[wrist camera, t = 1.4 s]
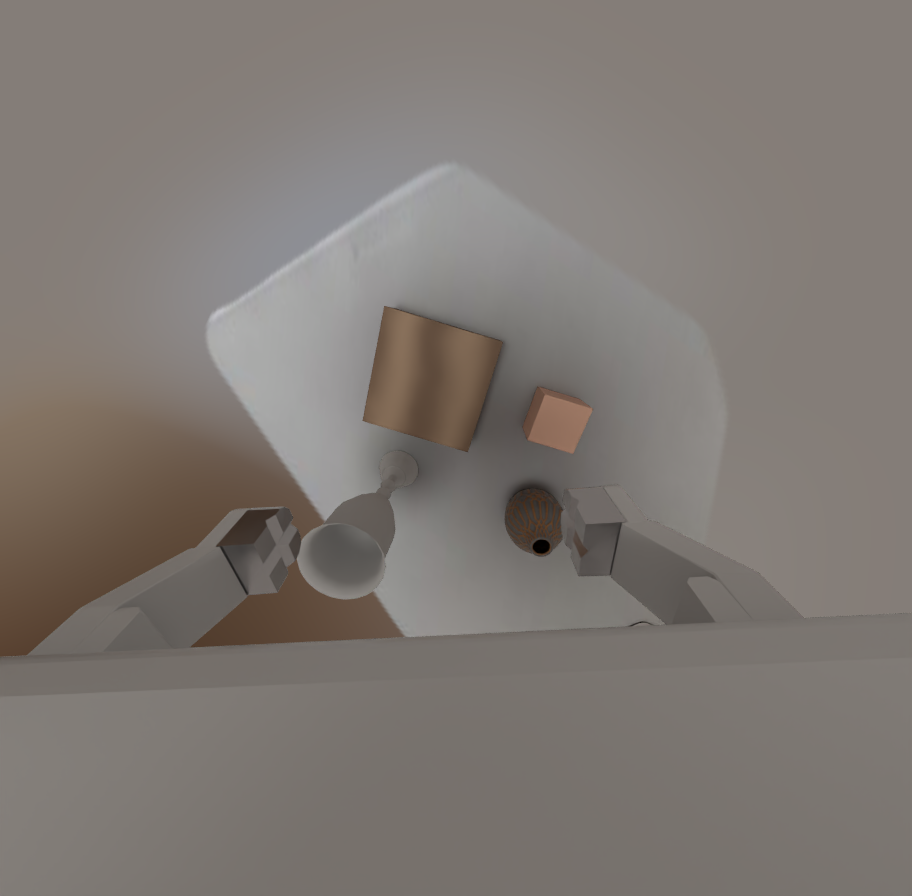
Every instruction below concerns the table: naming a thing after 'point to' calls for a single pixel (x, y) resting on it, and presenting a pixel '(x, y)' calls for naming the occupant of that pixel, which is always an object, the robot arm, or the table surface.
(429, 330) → the board
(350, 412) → the table surface
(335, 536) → the chalice
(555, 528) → the vase
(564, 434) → the block
